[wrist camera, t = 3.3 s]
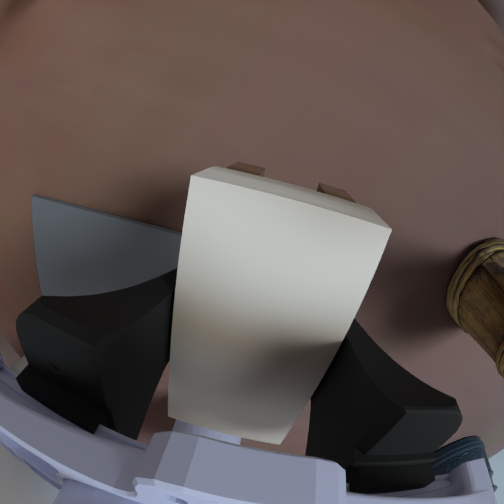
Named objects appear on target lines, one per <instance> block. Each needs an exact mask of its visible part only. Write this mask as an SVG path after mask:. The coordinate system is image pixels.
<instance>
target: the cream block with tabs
mask: <svg viewBox="0 0 504 504" xmlns="http://www.w3.org/2000/svg"><path fill="white" fill-rule="evenodd" d="M264 171H265V168H261V167H257V166H253V165H249V164H244V163H240V162H238V163H235V164H233V165H231V166H229V167H227V168H223V167H218V166H213V167H210V168H208V169H205V170H203V171H200V172H198V173H196V174H193V175H191V180H190V185H189V191H188V197H187V204H186V210H185V217H184V223H183V230H182V238H181V245H180V253H179V261H178V269H177V278H176V288H175V298H174V308H173V320H172V332H171V347H170V364H169V385H168V417H171V418H174V419H177V420H180V421H183V422H186V423H190V424H193V425H196V426H199V427H203V428H206V429H210V430H214V431H217V432H221V433H225V434H229V435H234V436H238V437H242V438H247V439H252V440H256V441H262V442H267V443H273V444H279V445H280V444H281V442H282V441H283V439H284V438H285V436H286V435H287V433H288V432H289V430H290V429H291V427H292V426H293V424H294V423H295V421H296V420H297V418H298V417H299V415H300V414H301V412H302V411H303V409H304V407H305V406H306V404H307V403H308V401H309V399H310V398H311V396H312V395H313V393H314V391H315V390H316V388H317V386H318V384H319V383H320V381H321V379H322V378H323V376H324V374H325V372H326V371H327V369H328V367H329V365H330V364H331V362H332V360H333V358H334V356H335V354H336V353H337V351H338V349H339V347H340V345H341V343H342V341H343V339H344V337H345V335H346V333H347V331H348V329H349V327H350V325H351V323H352V321H353V319H354V317H355V315H356V313H357V311H358V309H359V307H360V305H361V303H362V301H363V298H364V296H365V294H366V292H367V290H368V287H369V285H370V283H371V280H372V278H373V276H374V274H375V271H376V269H377V266H378V264H379V262H380V259H381V257H382V254H383V252H384V249H385V247H386V244H387V241H388V239H389V236H390V234H391V231H392V229H391V228H390V227H389V226H388V225H387V224H386V223H385V222H384V221H383V220H382V219H381V218H380V217H379V216H378V215H377V214H376V213H375V212H374V211H373V210H372V209H371V208H369V207H366V206H363V205H360V204H357V203H356V202H355V201H354V200H353V199H352V198H351V197H350V196H349V194H348V193H347V192H346V191H344V190H341V189H338V188H335V187H331V186H328V185H324V184H321V183H319V185H318V188H317V191H314V190H310V189H307V188H303V187H300V186H296V185H292V184H289V183H285V182H281V181H277V180H273V179H269V178H265V177H263V176H264Z"/></svg>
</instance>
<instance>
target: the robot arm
mask: <svg viewBox="0 0 504 504" xmlns="http://www.w3.org/2000/svg"><path fill="white" fill-rule="evenodd" d="M177 269H178V268H176V269H174V270H172V271H169V272H167V273H165V274H163V275H161V276H158V277H156V278H153V279H151V280H148V281H146V282H143V283H141V284H138V285H135V286H131V287H128V288H124V289H121V290H116V291H111V292H105V293H100V294H93V295H83V296H43V295H42V296H41V297H40V298H39V299H37V300H36V301H35V302H34V303H33V304H31V305H30V306H29V307H28V308H27V309H26V310H24V311H23V312H22V313H21V314H20V315H19V316H18V318H17V320H16V330H17V334H18V338H19V340H20V343H21V346H22V349H23V351H24V354H25V357H26V359H27V362H28V365H27V366H26V367H25V368H24V369H23V370H22V372H21V373H20V374H19V375H18V374H17V373H15V372H14V371H13V370H11V369H10V368H9V367H7V366H6V365H5V364H4V362H3V359H2V357H1V354H0V444H1V445H2V446H3V447H4V448H5V449H6V450H8V451H9V452H10V453H11V454H12V455H13V456H15V457H16V458H17V459H18V460H19V461H21V462H22V463H23V464H24V465H26V466H27V467H28V468H30V469H31V470H32V471H33V472H35V473H36V474H38V475H39V476H40V477H42V478H43V479H44V480H46V481H47V482H49V483H50V484H51V485H53V486H54V487H56V488H57V489H59V490H60V491H59V493H58V495H57V497H56V499H55V501H54V503H53V504H497V502H496V498H495V494H494V490H493V487H492V483H491V479H490V476H489V473H488V469H487V466H486V463H485V460H484V458H479V459H475V460H470V461H467V462H464V463H462V464H460V465H458V466H457V467H456V468H454V469H453V470H452V471H451V472H450V473H449V474H443V475H438V476H435V475H434V471H433V466H432V462H434V461H436V454H435V451H436V450H437V449H438V448H439V447H440V446H441V445H443V444H444V443H445V442H446V441H447V440H448V439H449V438H450V437H451V436H452V435H453V434H454V433H455V432H456V431H457V430H458V428H459V426H460V425H461V422H462V418H463V417H462V415H461V412H460V409H459V407H458V404H457V402H456V399H455V398H453V397H451V396H448V395H446V394H444V393H442V392H440V391H438V390H436V389H434V388H432V387H431V386H429V385H427V384H426V383H424V382H422V381H421V380H419V379H418V378H416V377H415V376H413V375H412V374H411V373H409V372H408V371H407V370H405V369H404V368H403V367H401V366H400V365H399V364H398V363H396V362H395V361H394V360H393V359H392V358H391V357H390V356H388V355H387V354H386V353H385V352H384V351H383V350H382V349H381V348H380V347H379V346H378V345H377V344H376V343H375V342H374V341H373V340H372V338H371V337H370V336H369V335H368V334H367V333H366V332H365V330H364V329H363V328H362V327H361V326H360V324H359V323H358V322H357V321H356V320H355V318H354V319H353V321H352V323H351V325H350V327H349V329H348V331H347V333H346V335H345V337H344V339H343V341H342V343H341V345H340V347H339V349H338V351H337V353H336V354H335V356H334V358H333V360H332V362H331V364H330V365H329V367H328V369H327V371H326V372H325V374H324V376H323V378H322V379H321V381H320V383H319V384H318V386H317V388H316V390H315V391H314V393H313V395H312V396H311V411H310V423H309V432H308V440H307V448H306V454H305V456H303V455H295V454H288V453H281V452H275V451H269V450H263V449H258V448H252V447H248V446H243V445H240V442H241V437H238V436H234V435H229V434H225V433H221V432H217V431H214V430H210V429H206V428H203V427H199V426H196V425H193V424H190V423H186V422H183V421H180V420H177V419H176V421H175V424H174V426H173V429H172V431H166V432H158V433H154V435H153V436H152V438H151V439H150V441H149V443H148V445H146V444H144V443H141V442H138V441H137V438H138V435H139V432H140V429H141V426H142V423H143V421H144V418H145V415H146V412H147V410H148V407H149V405H150V402H151V400H152V397H153V395H154V392H155V390H156V387H157V385H158V383H159V380H160V378H161V376H162V373H163V371H164V369H165V367H166V365H167V363H168V362H169V360H170V347H171V332H172V320H173V308H174V298H175V288H176V278H177Z"/></svg>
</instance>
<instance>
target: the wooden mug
mask: <svg viewBox="0 0 504 504" xmlns="http://www.w3.org/2000/svg"><path fill="white" fill-rule="evenodd" d="M446 306H447V308H448V310H449V313H450V314H451V316H452V318H453V319H454V320H455V322H456V323H457V324H458V326H459V327H460V328H461V329H462V330H463V331H464V332H465V333H468V334H470V335H471V336H472V338H473V339H474V340H475V341H476V342H477V343H478V344H479V345H480V346H481V347H482V348H483V349H484V350H485V351H486V352H487V353H488V355H489V356H490V357H491V358H492V359H493V360H494V362H495V363H496V367H497V370H498V373H499V374H500V375H501V376H502V377H503V378H504V240H503V239H500V238H493V239H488V240H487V241H485V242H484V243H482V244H481V245H479V246H477V247H476V248H475V249H473V250H472V251H471V252H470V253H468V254H467V255H466V257H465V258H464V259H463V260H462V262H461V263H460V264H459V266H458V268H457V269H456V271H455V273H454V274H453V276H452V279H451V281H450V284H449V286H448V291H447V303H446Z"/></svg>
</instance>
